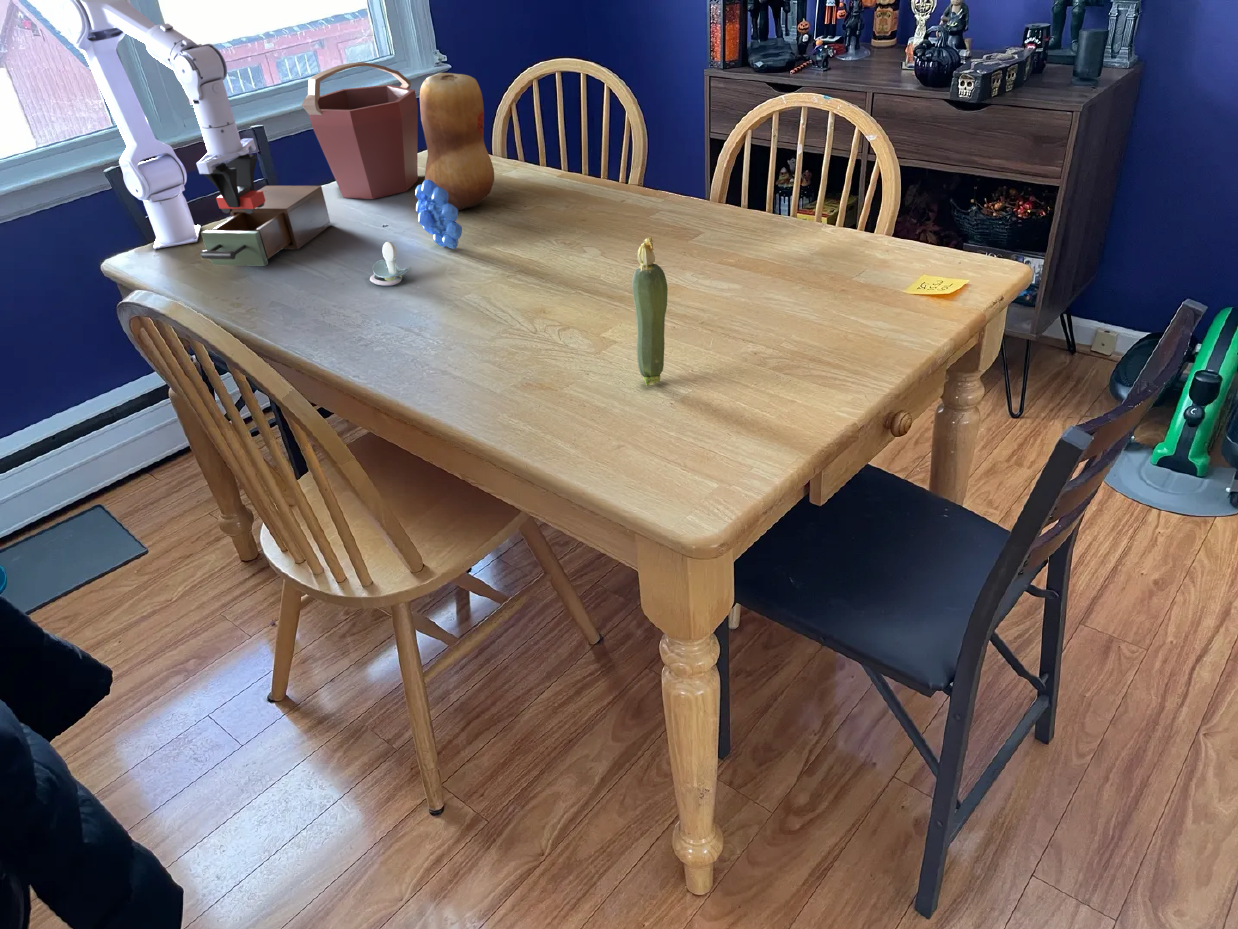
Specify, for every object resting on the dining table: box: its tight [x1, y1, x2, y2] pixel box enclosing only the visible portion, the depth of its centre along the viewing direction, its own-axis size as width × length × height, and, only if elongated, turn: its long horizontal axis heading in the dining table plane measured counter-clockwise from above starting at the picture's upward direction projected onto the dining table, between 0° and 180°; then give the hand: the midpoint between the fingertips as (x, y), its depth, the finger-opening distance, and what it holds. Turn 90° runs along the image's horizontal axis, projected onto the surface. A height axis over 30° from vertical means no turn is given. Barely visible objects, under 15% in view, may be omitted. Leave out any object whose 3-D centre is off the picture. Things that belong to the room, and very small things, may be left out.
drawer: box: [200, 212, 292, 267], centre depth 166 cm, size 17×11×6 cm, turn 167°
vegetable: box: [631, 236, 669, 387], centre depth 115 cm, size 4×4×20 cm
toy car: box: [215, 186, 266, 215], centre depth 165 cm, size 7×4×4 cm, turn 77°
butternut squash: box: [419, 72, 495, 211], centre depth 179 cm, size 14×13×25 cm
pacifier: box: [369, 241, 412, 286], centre depth 155 cm, size 7×6×6 cm
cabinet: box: [229, 185, 332, 250], centre depth 177 cm, size 13×12×8 cm
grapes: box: [414, 179, 463, 250], centre depth 164 cm, size 12×7×12 cm, turn 45°
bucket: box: [301, 61, 419, 200], centre depth 195 cm, size 24×22×25 cm
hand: (241, 202), depth 165 cm, fingers closed on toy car, 4 cm apart
